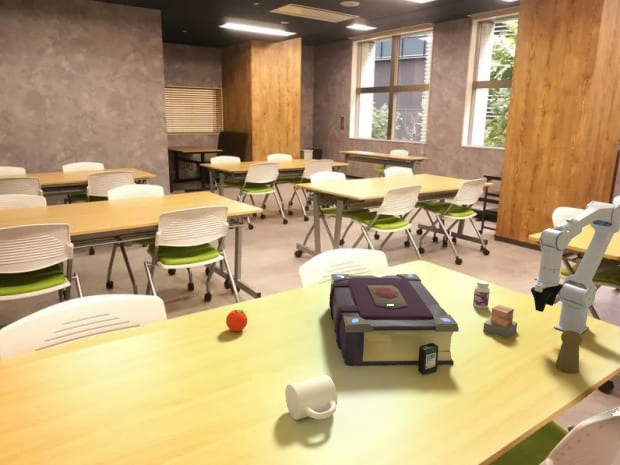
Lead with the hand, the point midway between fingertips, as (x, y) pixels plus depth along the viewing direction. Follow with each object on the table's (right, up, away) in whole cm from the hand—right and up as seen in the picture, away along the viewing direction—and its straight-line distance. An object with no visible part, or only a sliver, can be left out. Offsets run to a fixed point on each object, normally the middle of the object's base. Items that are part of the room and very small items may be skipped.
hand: (544, 307), depth 147 cm
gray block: (-11, -9, +7) cm, 16 cm away
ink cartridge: (-42, -15, -19) cm, 49 cm away
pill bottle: (-10, -4, +28) cm, 30 cm away
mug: (-74, -19, -39) cm, 86 cm away
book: (-51, -9, +6) cm, 52 cm away
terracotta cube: (-11, -6, +6) cm, 14 cm away
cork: (-2, -15, -16) cm, 22 cm away
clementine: (-98, -8, +5) cm, 99 cm away
